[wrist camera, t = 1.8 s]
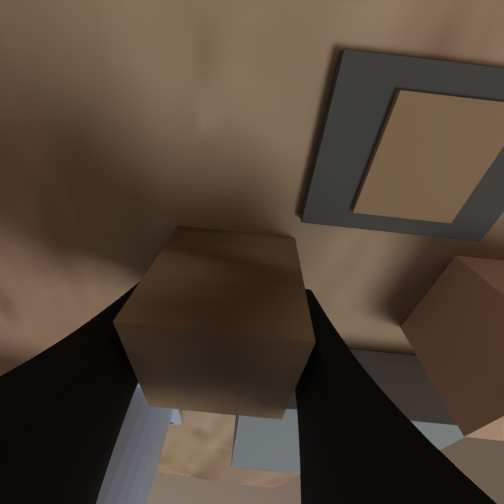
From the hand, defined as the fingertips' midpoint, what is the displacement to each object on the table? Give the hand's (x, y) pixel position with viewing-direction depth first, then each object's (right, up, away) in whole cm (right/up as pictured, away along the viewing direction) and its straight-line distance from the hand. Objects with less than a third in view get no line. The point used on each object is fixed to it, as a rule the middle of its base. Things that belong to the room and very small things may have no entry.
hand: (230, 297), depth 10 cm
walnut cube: (0, +1, +1) cm, 2 cm away
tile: (+7, +5, -2) cm, 9 cm away
